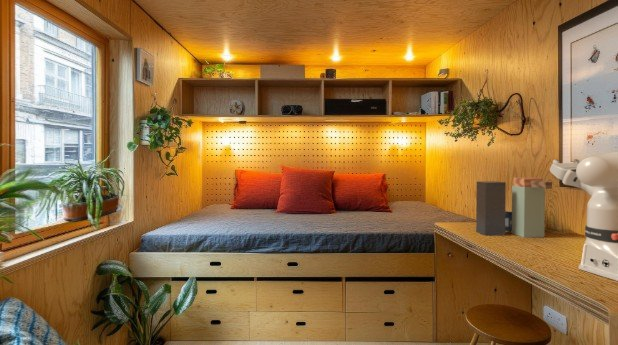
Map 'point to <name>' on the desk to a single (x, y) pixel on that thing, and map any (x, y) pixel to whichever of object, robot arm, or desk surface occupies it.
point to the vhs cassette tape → (508, 221)
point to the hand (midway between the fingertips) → (565, 160)
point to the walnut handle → (532, 183)
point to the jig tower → (490, 208)
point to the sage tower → (528, 211)
